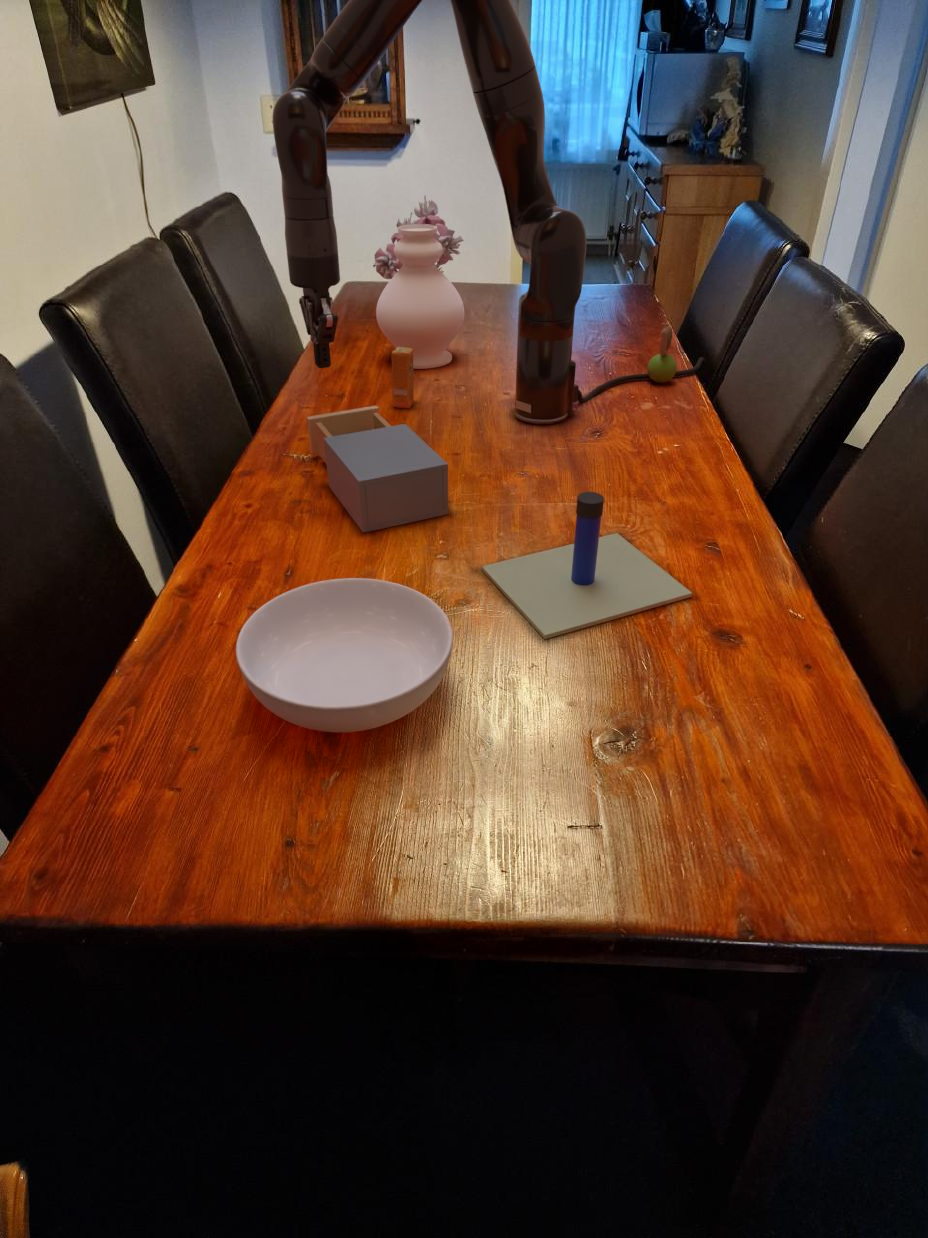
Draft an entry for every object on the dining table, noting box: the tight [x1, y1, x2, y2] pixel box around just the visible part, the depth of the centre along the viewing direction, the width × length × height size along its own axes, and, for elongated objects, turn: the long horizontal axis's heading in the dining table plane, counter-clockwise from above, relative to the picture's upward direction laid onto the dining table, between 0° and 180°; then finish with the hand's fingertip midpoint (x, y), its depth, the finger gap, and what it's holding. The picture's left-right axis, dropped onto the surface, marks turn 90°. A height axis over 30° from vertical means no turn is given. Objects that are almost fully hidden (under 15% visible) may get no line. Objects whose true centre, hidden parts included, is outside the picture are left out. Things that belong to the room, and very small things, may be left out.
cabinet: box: [323, 423, 449, 534], centre depth 115 cm, size 16×13×8 cm
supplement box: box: [391, 347, 414, 409], centre depth 145 cm, size 3×3×10 cm
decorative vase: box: [375, 223, 466, 370], centre depth 162 cm, size 18×18×25 cm
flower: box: [372, 195, 465, 280], centre depth 193 cm, size 20×22×25 cm
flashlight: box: [571, 491, 605, 585], centre depth 96 cm, size 3×3×11 cm
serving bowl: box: [235, 577, 454, 733], centre depth 81 cm, size 21×21×7 cm
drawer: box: [306, 405, 392, 464], centre depth 125 cm, size 19×11×6 cm, turn 25°
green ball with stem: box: [646, 322, 678, 384], centre depth 154 cm, size 5×6×12 cm
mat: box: [481, 532, 693, 640], centre depth 99 cm, size 20×16×1 cm
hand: (323, 366), depth 131 cm, fingers closed
